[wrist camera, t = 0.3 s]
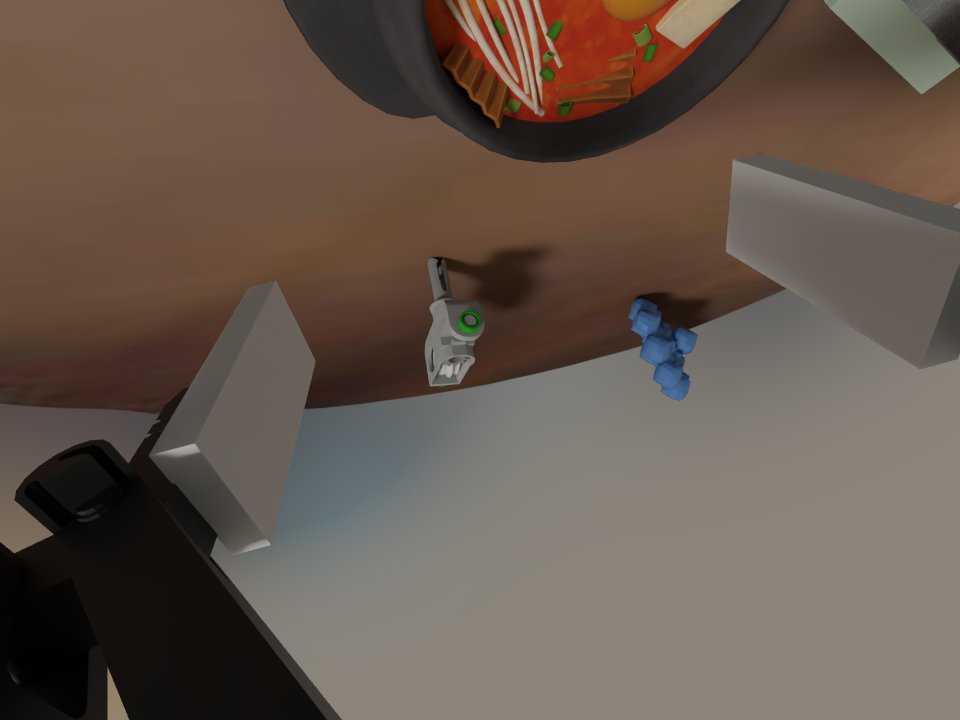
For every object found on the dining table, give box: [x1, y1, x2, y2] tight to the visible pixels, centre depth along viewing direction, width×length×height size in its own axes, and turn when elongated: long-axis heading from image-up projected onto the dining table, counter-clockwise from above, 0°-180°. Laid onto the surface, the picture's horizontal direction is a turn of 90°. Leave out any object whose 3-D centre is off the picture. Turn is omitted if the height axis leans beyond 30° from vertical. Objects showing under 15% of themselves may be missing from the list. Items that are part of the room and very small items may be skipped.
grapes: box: [629, 298, 697, 401], centre depth 56 cm, size 12×7×12 cm, turn 31°
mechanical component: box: [425, 258, 485, 387], centre depth 41 cm, size 3×10×10 cm, turn 164°
